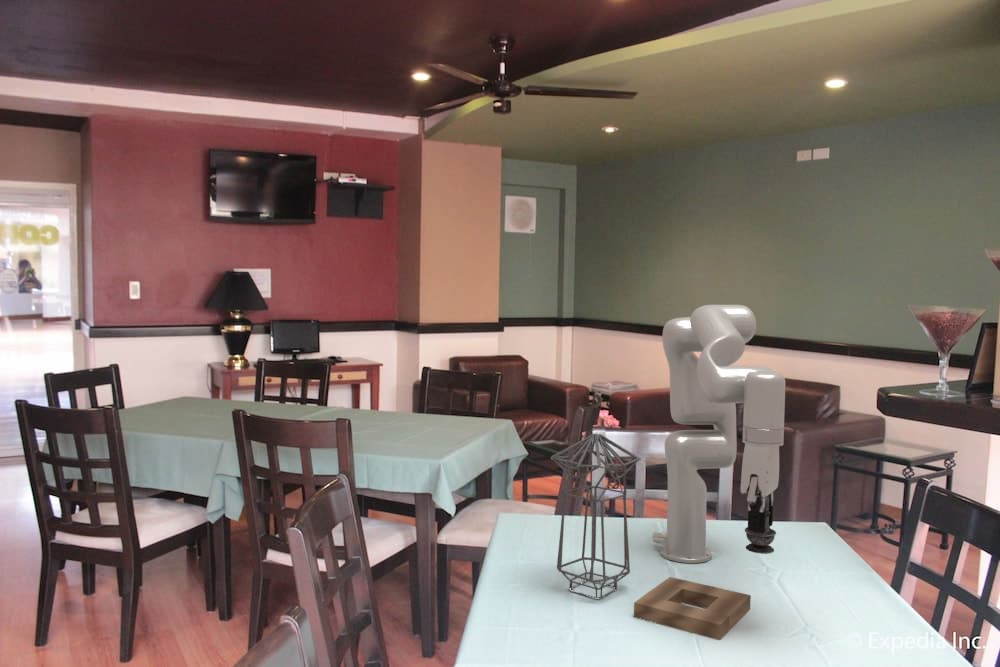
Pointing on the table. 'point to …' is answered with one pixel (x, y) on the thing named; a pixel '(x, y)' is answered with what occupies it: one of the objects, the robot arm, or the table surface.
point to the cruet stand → (710, 622)
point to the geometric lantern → (558, 459)
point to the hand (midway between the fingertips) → (760, 527)
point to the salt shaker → (761, 534)
